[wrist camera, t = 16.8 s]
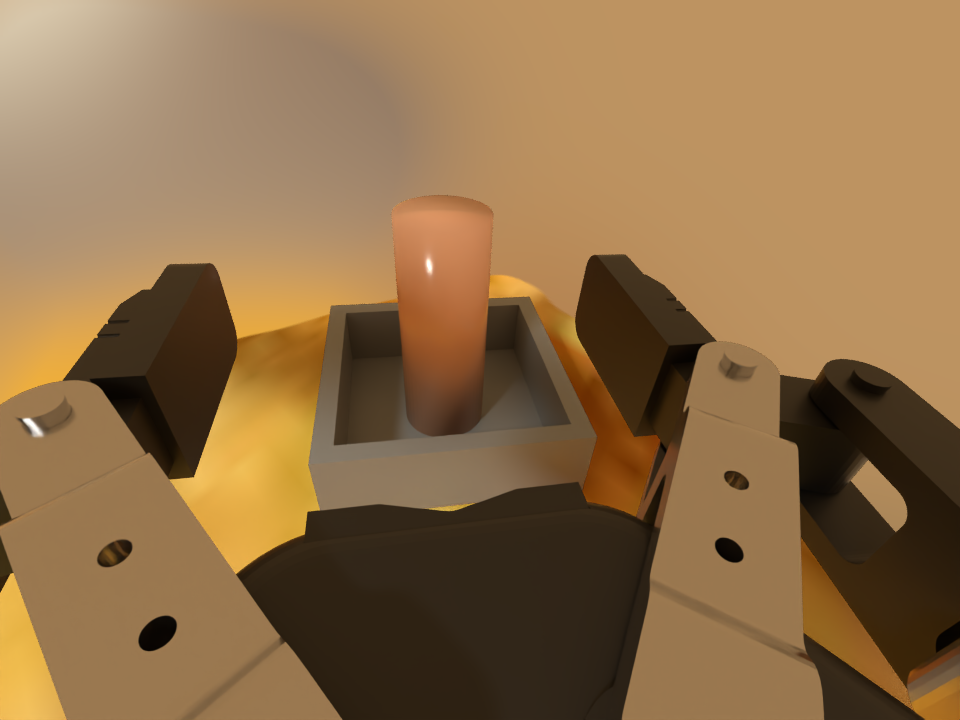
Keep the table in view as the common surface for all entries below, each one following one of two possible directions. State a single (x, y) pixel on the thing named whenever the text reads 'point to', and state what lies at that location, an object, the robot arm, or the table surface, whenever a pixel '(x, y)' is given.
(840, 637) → the table surface
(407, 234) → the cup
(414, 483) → the tote
